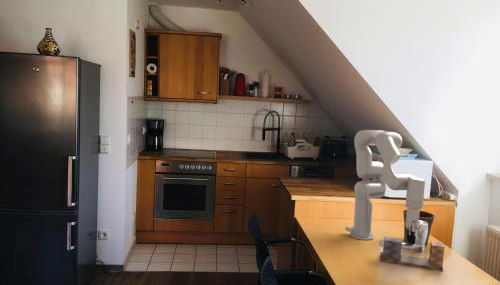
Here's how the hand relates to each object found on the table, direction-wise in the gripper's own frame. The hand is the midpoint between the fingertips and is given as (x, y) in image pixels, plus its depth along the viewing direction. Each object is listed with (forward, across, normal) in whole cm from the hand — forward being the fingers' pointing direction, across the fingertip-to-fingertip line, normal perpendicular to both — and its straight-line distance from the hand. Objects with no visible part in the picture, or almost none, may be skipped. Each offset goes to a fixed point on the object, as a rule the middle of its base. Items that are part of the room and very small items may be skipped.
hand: (410, 241), depth 192 cm
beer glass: (+11, -20, +6) cm, 23 cm away
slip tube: (+4, 0, -4) cm, 6 cm away
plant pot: (+11, -34, +6) cm, 36 cm away
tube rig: (+10, 0, 0) cm, 10 cm away
